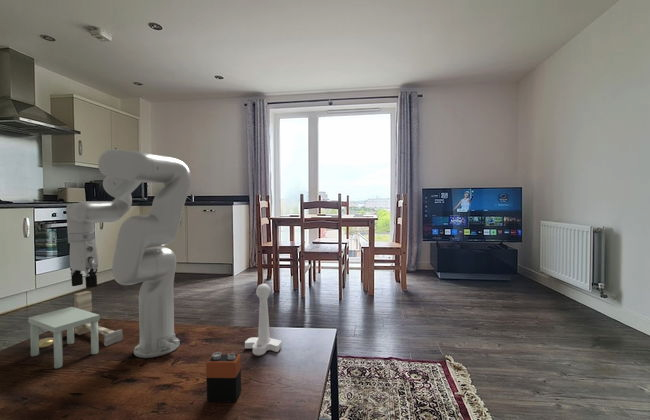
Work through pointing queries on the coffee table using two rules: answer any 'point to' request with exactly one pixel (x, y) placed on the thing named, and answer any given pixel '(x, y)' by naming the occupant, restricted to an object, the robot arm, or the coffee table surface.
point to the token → (46, 342)
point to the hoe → (85, 303)
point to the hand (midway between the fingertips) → (84, 286)
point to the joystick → (263, 326)
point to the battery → (223, 377)
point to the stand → (59, 323)
